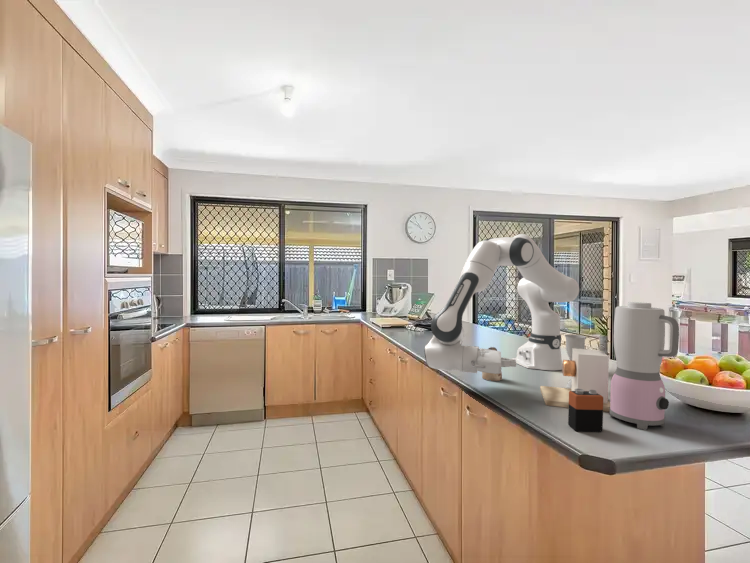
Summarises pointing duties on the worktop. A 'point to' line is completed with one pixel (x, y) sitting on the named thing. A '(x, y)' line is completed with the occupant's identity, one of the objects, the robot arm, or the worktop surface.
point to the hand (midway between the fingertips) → (516, 363)
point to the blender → (640, 363)
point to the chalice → (574, 342)
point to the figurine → (490, 375)
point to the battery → (585, 411)
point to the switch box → (591, 371)
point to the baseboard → (561, 397)
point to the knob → (569, 368)
